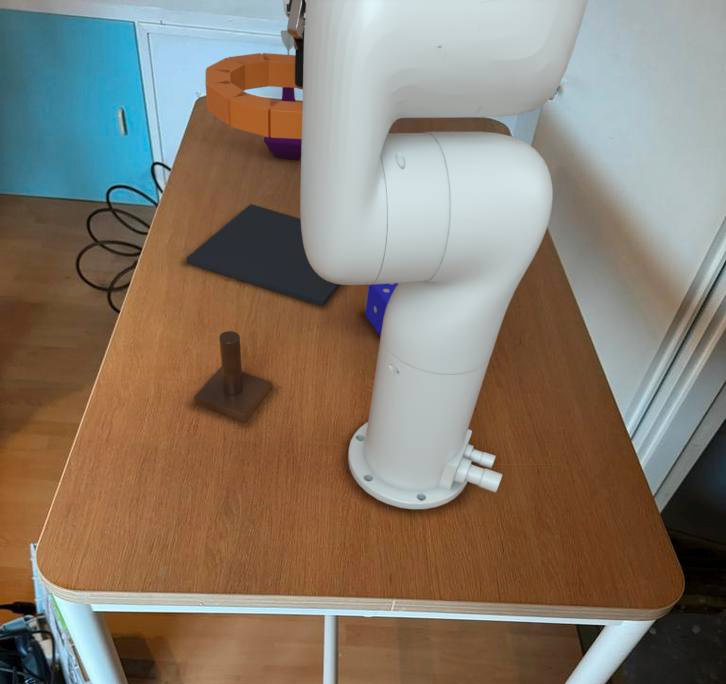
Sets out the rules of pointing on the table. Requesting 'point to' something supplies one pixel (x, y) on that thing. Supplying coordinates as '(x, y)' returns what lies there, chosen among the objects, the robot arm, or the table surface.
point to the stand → (232, 384)
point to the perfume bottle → (285, 145)
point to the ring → (252, 110)
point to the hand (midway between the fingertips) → (313, 82)
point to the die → (378, 303)
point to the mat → (264, 255)
